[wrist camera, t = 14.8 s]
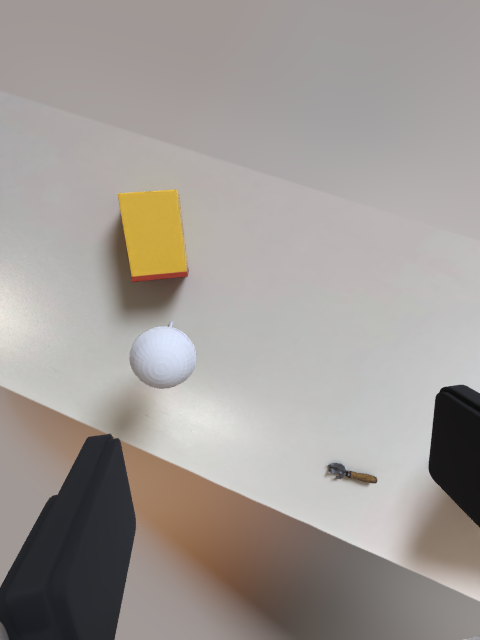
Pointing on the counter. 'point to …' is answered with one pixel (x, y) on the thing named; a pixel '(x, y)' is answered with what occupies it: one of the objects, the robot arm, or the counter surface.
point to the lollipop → (163, 357)
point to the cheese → (154, 234)
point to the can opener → (351, 474)
